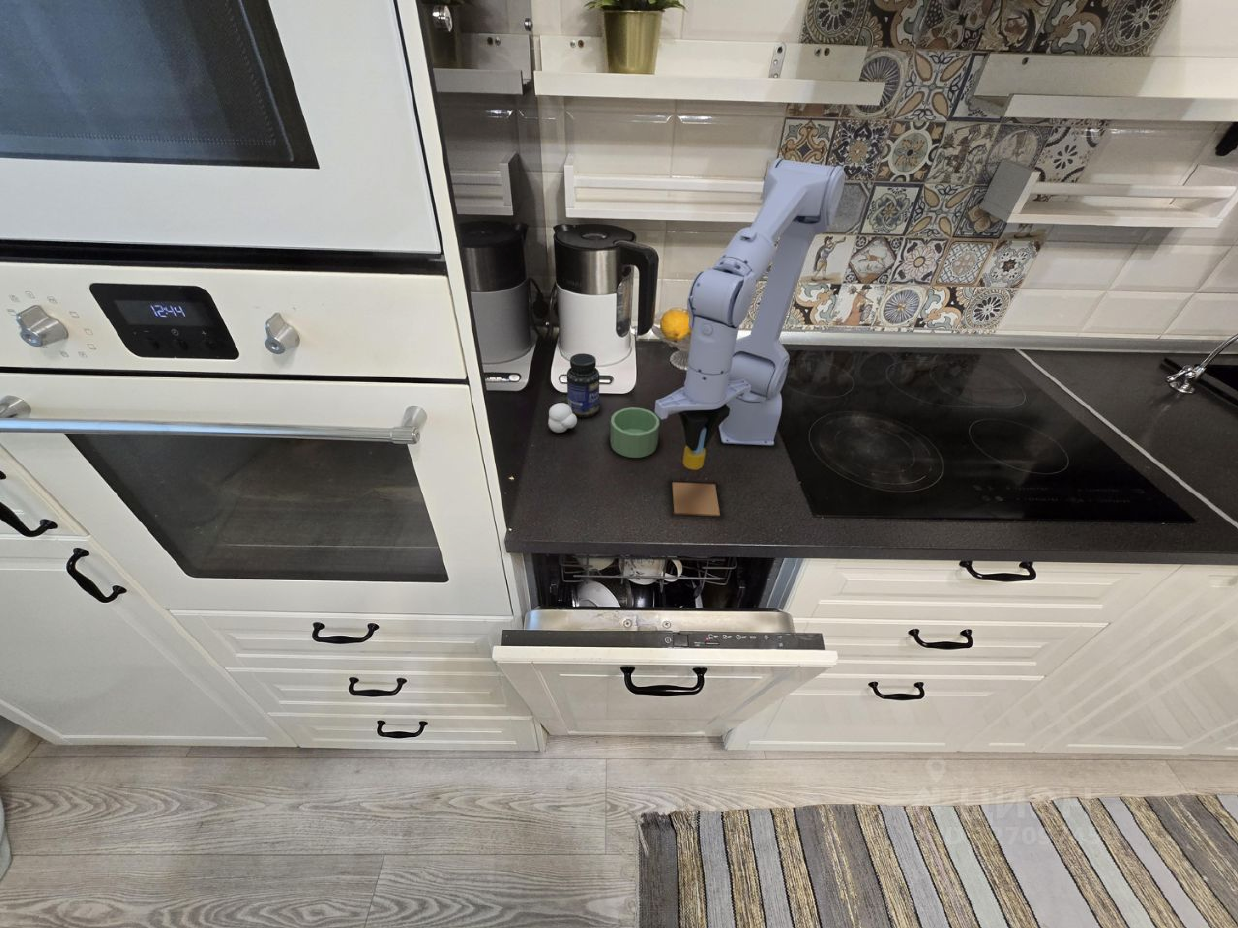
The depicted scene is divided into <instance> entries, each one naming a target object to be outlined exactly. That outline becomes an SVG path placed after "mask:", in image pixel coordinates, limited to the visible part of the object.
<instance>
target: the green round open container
mask: <svg viewBox="0 0 1238 928" xmlns="http://www.w3.org/2000/svg"><path fill="white" fill-rule="evenodd" d="M659 433H660V417H658V416H657V414H656V413H655V412H653V411H652V410H649V409H646V408H644V407H643V408H642V407H636V406H635V407H633V406H629V407H624V408H620V409H619V410H617V411H615V412H614V413H613V414H612V415H611V417H610V439H609V440H610V441H609V442H610V447H611V448H612V450H613V451H614V452H615V453H617V454H618V455H620V456H622V457H625V458H630V459H641V458H644V457H645V458H646V457H648V456H650V455H652V454H653V453H654V452H655V451H656V449H657V447H658V442H659Z"/></svg>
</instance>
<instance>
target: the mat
mask: <svg viewBox="0 0 1238 928" xmlns="http://www.w3.org/2000/svg"><path fill="white" fill-rule="evenodd" d="M671 485H672V499H673V500H672V501H673V514H674V515H681V516H698V517H699V516H702V517H720V516H721V514H720V507H719V500H718V494H717V489H716V484H713V483H696V482H695V483H693V482H672V483H671Z"/></svg>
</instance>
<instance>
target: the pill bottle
mask: <svg viewBox="0 0 1238 928" xmlns="http://www.w3.org/2000/svg"><path fill="white" fill-rule="evenodd" d="M596 362H597V361H596V357H595V355H592V354H590V353H576V354H574V355H572V356H570V358H569V366H570V368H568V370H567V372H566V393H567V397H566V398H567V405H568V406H570V408H571V409H572V413H573V414H574V415H575V416H576V418H583V419H584V418H590V417H593V416H595V415H596V414H598V412H599V410H600V372H599V370H598V369H597V368H596Z"/></svg>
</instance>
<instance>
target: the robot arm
mask: <svg viewBox="0 0 1238 928" xmlns="http://www.w3.org/2000/svg"><path fill="white" fill-rule="evenodd" d="M844 170H845V169H844V167H843V166H841V165H837V166H833V165H827V164H819V163H810V162H804V161H796V160H789V159H785V158H782V157H777V158H776V159H775V160H774V161H773V162H772V163H771V164H770V166H769V168H768V169H767V172H766V174H765V178H764V182H763V185H762V193H761V194H762V205H761V207H760V209H759V211H758V213H757V214H756V216H755V218H754V220H753V221H752V223H751V226H750V227H749V226H748V227H743V228H741V229H739V230H738V231H737V232H736V233H735V235H734V236H733V237H732V239H731V241H730V242H729V243H728V245H727V246H726V247H725V249H724V250H723V252H722V253H721V254H720V256H719V257H718V258H717V260H716V262H715V263H714V264H713V266H712V268H710V267H709V268H706V269H705V270H704V271H703V270H702V271H699V272H698V273H697V274H696V275H695V277H694V278H693V281H692V282H691V285H690V288H689V293H688V296H687V299H686V309H687V313H688V316H689V317H688V318H689V319H688V328H689V329H690V330H691V337H690V342H689V343H690V344H689V350H688V358H687V367H686V373H685V380H684V381H683V386H682V387H680V388H678V389H677V390H675V391H673V392H672V393H669V395H666V396H665V397H663V398H660V399H656V400H655V401H654V402H655V403H654V414H656V416H657V417H658V418H659V420H666V419H669V418H668V417H669V415H673V414H678V416H679V419H680V421H681V425H682V430H683V434H684V441H685V446H688V447H689V448H690V449H691V450H692V451H695V450H697V448H698V445H699V440H700V435H701V432H702V430H703V428H704V427H705V428H706V435H705V441H704V446H703V448H707V447H708V445H709V443H710V441H711V439H712V437H713V436H714V434H715V432H716V431H717V429H718V430H719V436H720V440H721V443H723V444H727V445H728V444H730V445H732V444H733V445H749V446H751V445H752V446H769V447H770V446H774V445H775V441H774V440H775V436H776V432H777V429H778V426H779V422H780V419H781V415H782V409H783V399H782V394H781V390H782V388H783V386H784V384H785V382H786V378H787V375H788V368H789V363H790V360H791V359H790V357H791V356H790V354H789V352H788V351H787V349H786V348H785V347H784V345H783V343H782V342H781V341H780V336H781V334H782V331H783V328H784V325H785V322H786V319H787V316H788V313H789V310H790V308H791V304H792V301H793V298H794V296H795V292H796V290H797V286H798V283H799V280H800V277H801V274H802V271H803V268H804V266H805V265H804V264H805V261H806V260H807V256H808V253H809V251H810V247H811V245H812V243H813V241H814V239H815V237H816V236H817V235H819V234H824V233H827V232H828V231H829V228H830V226H831V225H832V223H833V221H834V218H835V215H836V213H837V209H838V206H839V204H840V201H841V198H842V196H843V195H842V194H843V192H844V187H845V183H846V182H845V181H846V172H845V171H844ZM777 240H778V241H777ZM776 242H777V244H776V245H777V246H776V245H775V243H776ZM770 265H771V266H770ZM769 267H770V269H769V272H768V274H767V278H766V282H765V285H764V288H763V292H762V294H761V298H760V301H759V304H758V307H757V311H756V314H755V318H754V321H753V324H752V327H751V331H750V334H749V335H746V336H743V337H741V338H739V339H738V335H739V328H740V326H741V324H742V323H743V322H744V320H746V318H747V315H748V313H749V311H750V308H751V304H752V302H753V300H754V298H755V296H756V293H757V285H758V283H759V282H760V281H761V279H762V277H763V276H764V274H765V273H766V271H767V269H768V268H769Z"/></svg>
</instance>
